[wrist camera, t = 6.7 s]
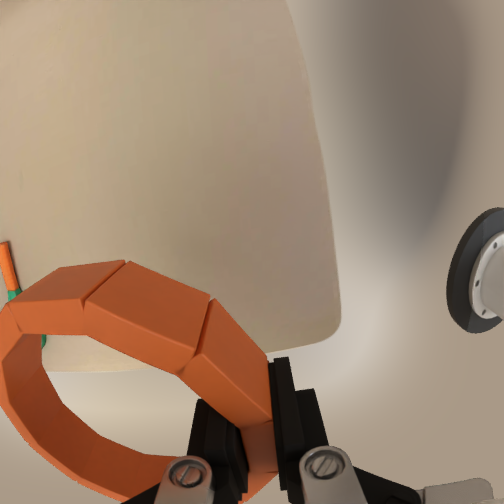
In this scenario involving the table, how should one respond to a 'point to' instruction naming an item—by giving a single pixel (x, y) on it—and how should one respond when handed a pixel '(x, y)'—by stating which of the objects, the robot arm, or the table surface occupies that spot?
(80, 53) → the table surface
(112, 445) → the ring
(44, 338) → the magnifying glass
